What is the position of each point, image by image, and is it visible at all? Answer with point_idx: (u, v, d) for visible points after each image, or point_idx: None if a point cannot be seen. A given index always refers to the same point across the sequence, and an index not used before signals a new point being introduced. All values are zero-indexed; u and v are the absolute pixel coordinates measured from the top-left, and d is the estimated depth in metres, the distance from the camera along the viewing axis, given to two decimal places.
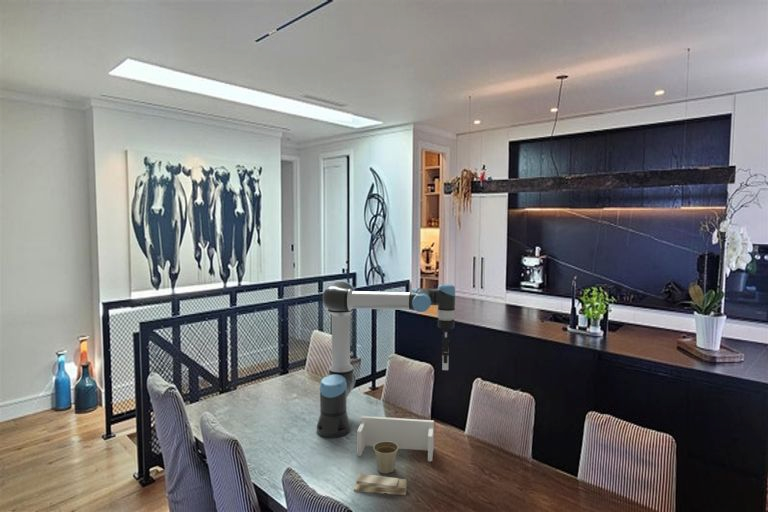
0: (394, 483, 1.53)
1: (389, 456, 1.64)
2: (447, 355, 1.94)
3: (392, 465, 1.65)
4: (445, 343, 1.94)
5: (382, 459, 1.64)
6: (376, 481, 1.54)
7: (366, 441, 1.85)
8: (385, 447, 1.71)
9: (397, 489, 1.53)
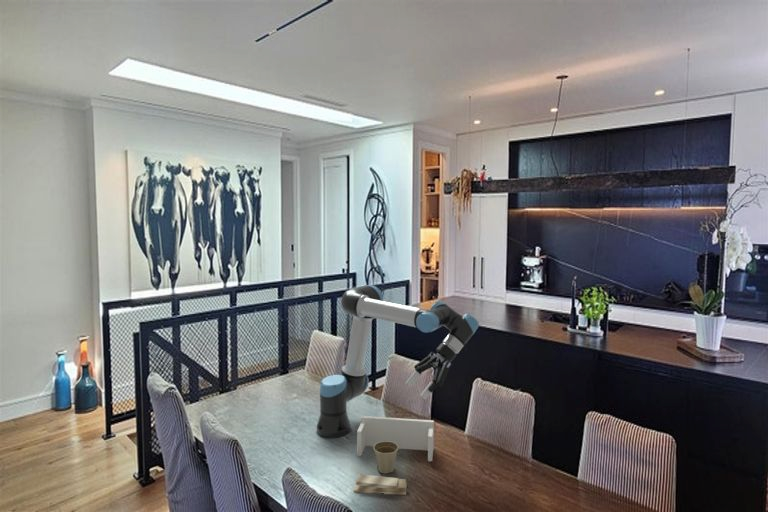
0: (394, 483, 1.53)
1: (389, 456, 1.64)
2: (437, 385, 1.66)
3: (392, 465, 1.65)
4: (444, 372, 1.66)
5: (382, 459, 1.64)
6: (376, 482, 1.54)
7: (366, 441, 1.85)
8: (385, 447, 1.71)
9: (397, 489, 1.53)
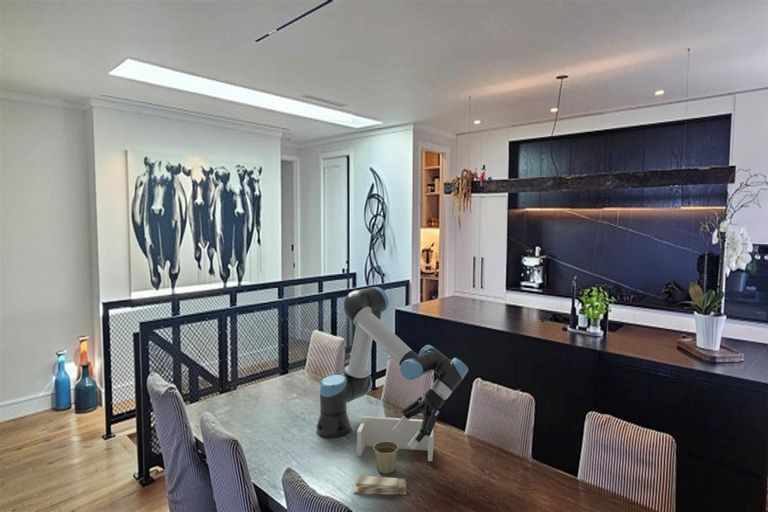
0: (394, 483, 1.53)
1: (389, 456, 1.64)
2: (425, 435, 1.62)
3: (392, 465, 1.65)
4: (432, 421, 1.63)
5: (382, 459, 1.64)
6: (376, 483, 1.54)
7: (366, 441, 1.85)
8: (385, 447, 1.71)
9: (397, 489, 1.53)
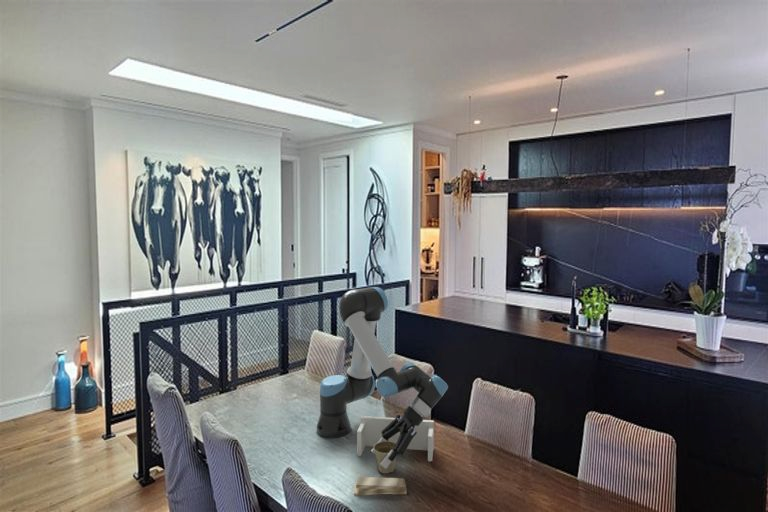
0: (394, 483, 1.53)
1: None
2: None
3: (392, 465, 1.65)
4: (407, 441, 1.62)
5: (382, 459, 1.64)
6: (376, 483, 1.53)
7: (366, 441, 1.85)
8: (385, 447, 1.71)
9: (398, 489, 1.53)
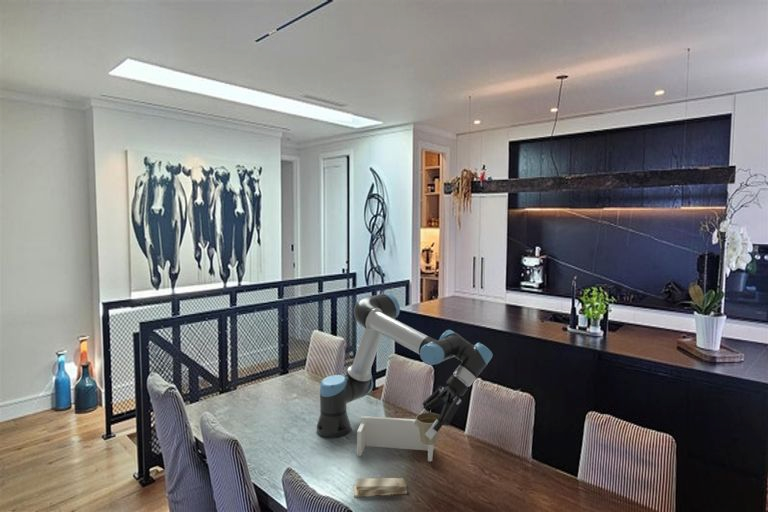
0: (394, 483, 1.53)
1: None
2: None
3: (436, 436, 1.57)
4: (452, 410, 1.54)
5: (426, 430, 1.56)
6: (377, 484, 1.53)
7: (366, 441, 1.85)
8: (427, 419, 1.63)
9: (398, 489, 1.53)
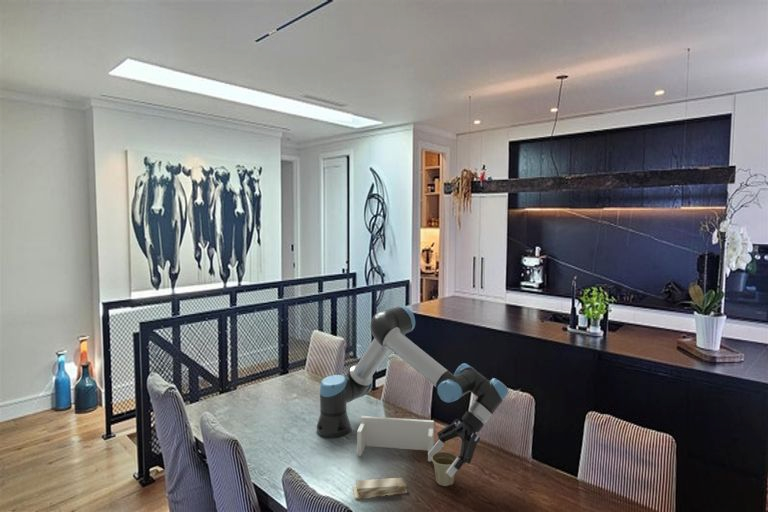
0: (394, 483, 1.53)
1: None
2: (464, 462, 1.52)
3: (452, 477, 1.57)
4: (472, 447, 1.53)
5: (442, 471, 1.56)
6: (377, 485, 1.52)
7: (366, 441, 1.85)
8: (442, 458, 1.63)
9: (398, 488, 1.53)
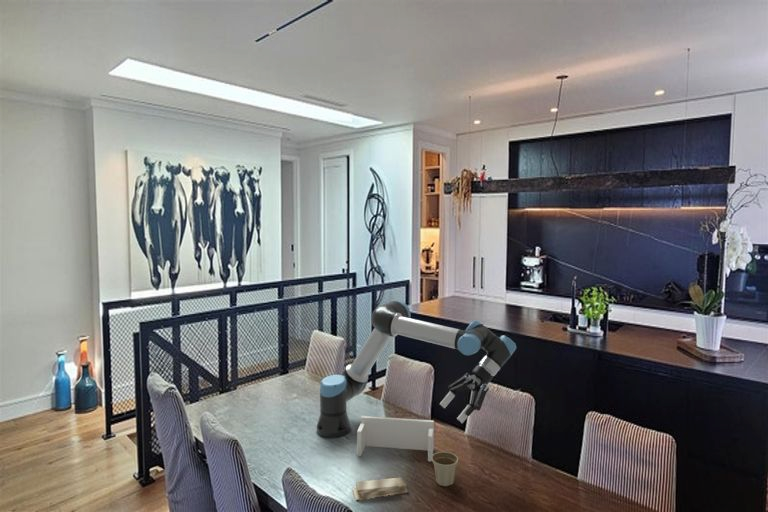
0: (394, 483, 1.53)
1: (450, 468, 1.56)
2: None
3: (452, 477, 1.57)
4: (482, 396, 1.64)
5: (442, 471, 1.56)
6: (377, 486, 1.52)
7: (366, 441, 1.85)
8: (442, 458, 1.63)
9: None
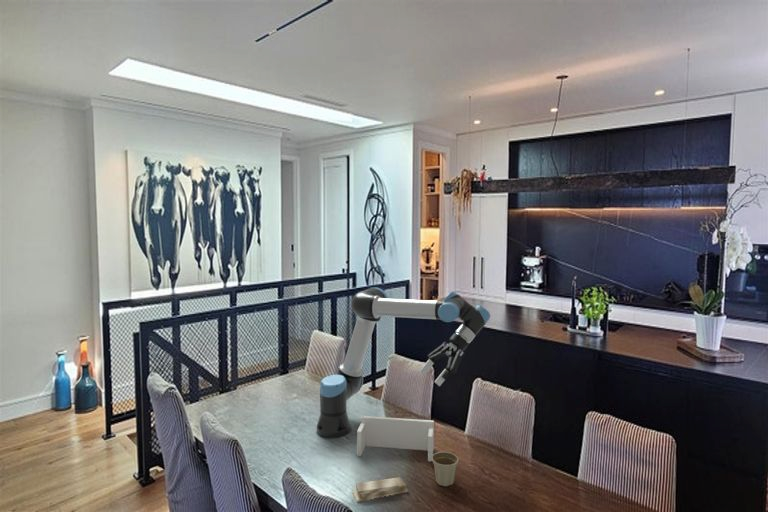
0: (395, 483, 1.53)
1: (450, 468, 1.56)
2: (451, 372, 1.74)
3: (452, 477, 1.57)
4: (457, 361, 1.75)
5: (442, 471, 1.56)
6: (378, 486, 1.51)
7: (366, 441, 1.85)
8: (442, 458, 1.63)
9: None
